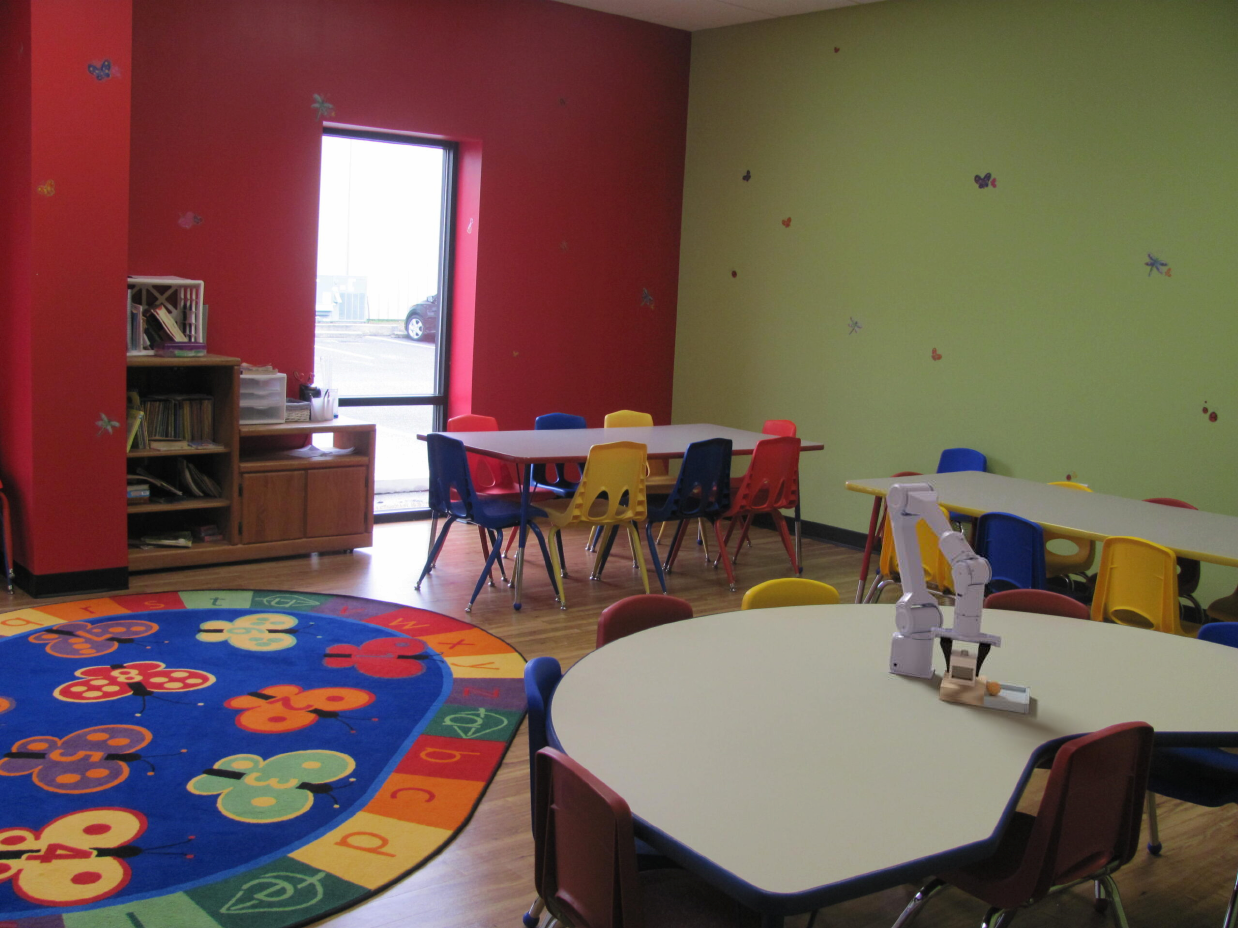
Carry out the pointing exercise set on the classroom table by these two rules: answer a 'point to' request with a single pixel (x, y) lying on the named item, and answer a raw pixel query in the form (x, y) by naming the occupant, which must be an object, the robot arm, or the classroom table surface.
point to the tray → (1009, 698)
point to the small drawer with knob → (963, 667)
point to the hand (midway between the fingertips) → (962, 673)
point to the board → (963, 690)
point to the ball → (993, 688)
